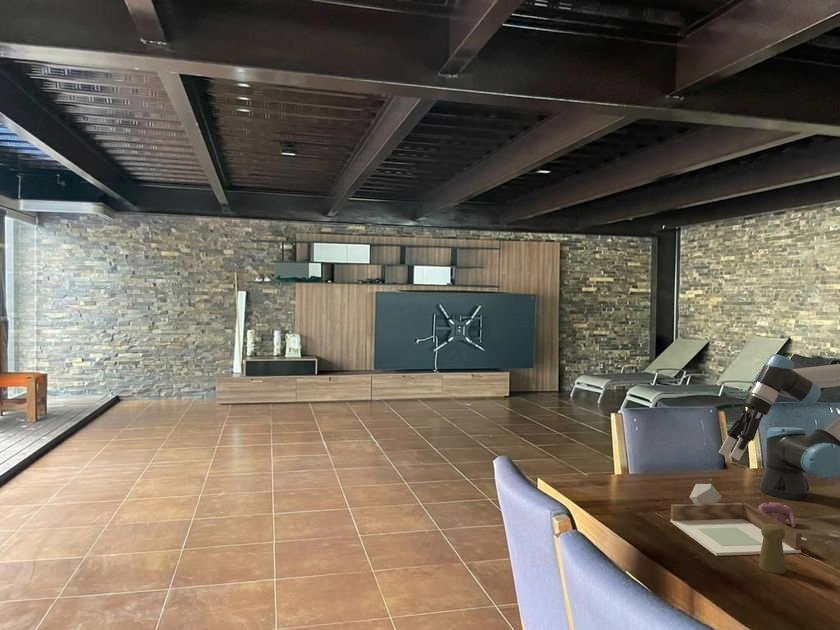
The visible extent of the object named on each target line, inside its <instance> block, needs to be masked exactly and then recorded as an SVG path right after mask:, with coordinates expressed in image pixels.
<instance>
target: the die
mask: <svg viewBox="0 0 840 630" xmlns="http://www.w3.org/2000/svg"><path fill="white" fill-rule="evenodd" d="M722 497H723V496H722V495H721V494H720V493H719V492H718V490H716V488H715V487H714V486H713V484H712V483H695V485H694V486H693V489H692V491H691V493H690V495H689V499H690V500H691V502H692V504H711V503H720V501H721V500H722Z"/></svg>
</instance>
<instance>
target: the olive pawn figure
mask: <svg viewBox="0 0 840 630" xmlns="http://www.w3.org/2000/svg"><path fill="white" fill-rule="evenodd" d="M761 533H762V535H763V542H762V548H761V553H760V554H759V558H758V559H759V560H758V565H757V566H758V568H759V569H761V570H762V571H765V572H767V573H771V574H785V573H786V562H785V553H784V552H783V544H782V540H783V539H784V537H785V532H784V529H783V528H782V527H780V526H778V525H775V524H764V525H763V526H762V528H761Z"/></svg>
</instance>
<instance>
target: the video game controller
mask: <svg viewBox="0 0 840 630" xmlns="http://www.w3.org/2000/svg"><path fill="white" fill-rule="evenodd" d="M757 509H758V510H760V511H762V512H763V513H765V514H767V515H769V516H771V517H772V518H774V519H775V515H774V514H773V513H775V514H779V515H778V516H777V519H776V520H778V521H780V522H782V523H783V524H785V523H786V521H787V520H788V521H789V524H790V525H791V528H795V527H796V526H797V521H796V517H795V514H794V513H795V512H794V511H793V509H792V508H791V507H790V506H789V505H786V504H783V503H780V502H771V501H770V502H763V503H761V504H759V505H758V506H757Z"/></svg>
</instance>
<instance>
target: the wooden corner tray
mask: <svg viewBox="0 0 840 630" xmlns="http://www.w3.org/2000/svg"><path fill="white" fill-rule="evenodd" d="M670 523H672V524H673V525H674V526H676V527H677V528H678V529H679V530H681V531H683V532H684V533H685V534H686V535H687V536H689V537H690V538H692V539H693V540H695V541H696V542H697V543H699V544H700V545H701V546H703V547H704V548H705V549H707V550H708V551H709V552H710V553H712V554H714V556H716V557H717V556H743V555H745V556H747V555H748V556H750V555H752V556H753V555H760V553H761V548H762V542H763V535H762V533H761V528H762V526H763V525H764V524H775V525H778V526H780V527H782V528H783V529H784V532H785V537H784V539H783V540H782V544H783V552H784V554H799V553H802V533H801V532H800V531H798V530H796V529H794V528H793V527H792V526H789V525H787V524H785V523H782V522H780V521H778V520H777V519H776V518H775V517H774V518H772V517H771V516H769V515H767V514H765V513H763V512H762V511H760V510H758V508H756V507H754V506H752V505H751V504H750V503H749V504H748V503H747V502H721V503H720V502H719V503H711V504H694V503H682V504H680V503H679V504H677V503H676V504H675V503H674V504H670Z"/></svg>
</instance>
